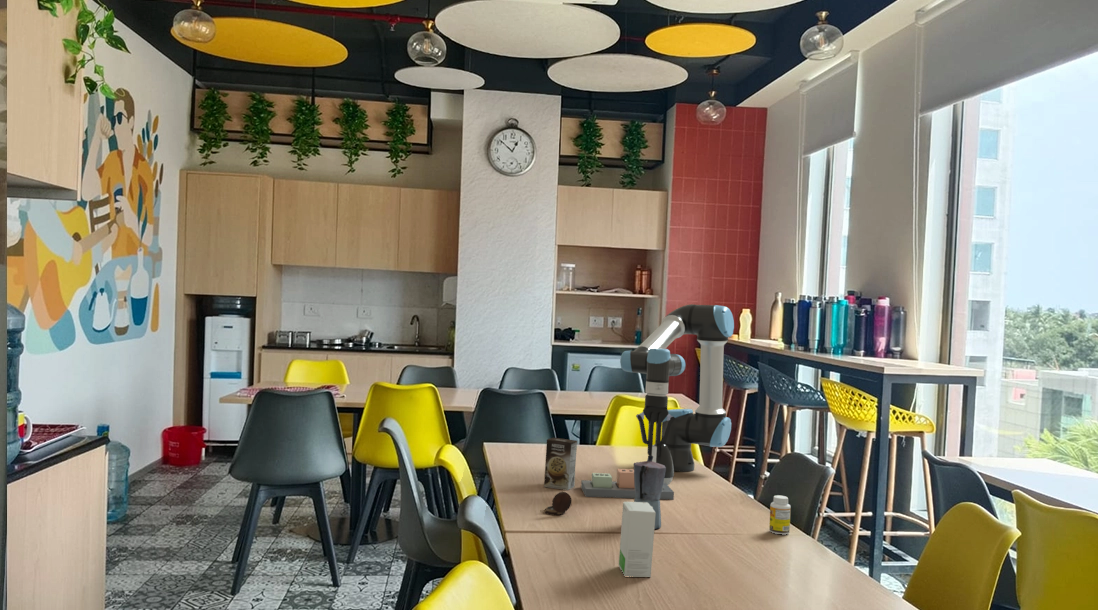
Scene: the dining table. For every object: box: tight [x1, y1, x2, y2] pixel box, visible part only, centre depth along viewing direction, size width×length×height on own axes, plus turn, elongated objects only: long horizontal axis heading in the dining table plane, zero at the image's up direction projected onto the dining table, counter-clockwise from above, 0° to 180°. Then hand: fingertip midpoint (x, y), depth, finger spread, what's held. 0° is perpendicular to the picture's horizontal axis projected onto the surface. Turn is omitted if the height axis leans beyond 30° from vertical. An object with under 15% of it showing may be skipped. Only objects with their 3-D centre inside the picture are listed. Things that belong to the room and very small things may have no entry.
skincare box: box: [618, 501, 656, 578], centre depth 187 cm, size 8×7×16 cm
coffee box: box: [543, 437, 578, 491], centre depth 272 cm, size 9×6×16 cm
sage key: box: [591, 472, 613, 488], centre depth 267 cm, size 6×6×5 cm
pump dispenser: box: [646, 443, 675, 486], centre depth 284 cm, size 10×10×15 cm
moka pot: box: [633, 455, 666, 530], centre depth 228 cm, size 10×15×20 cm, turn 161°
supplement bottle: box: [768, 494, 791, 536], centre depth 228 cm, size 6×6×10 cm
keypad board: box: [580, 479, 675, 501], centre depth 268 cm, size 29×13×2 cm, turn 94°
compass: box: [539, 490, 573, 516], centre depth 237 cm, size 8×8×7 cm
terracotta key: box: [616, 468, 635, 488], centre depth 268 cm, size 6×6×5 cm
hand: (652, 465), depth 268 cm, fingers closed
